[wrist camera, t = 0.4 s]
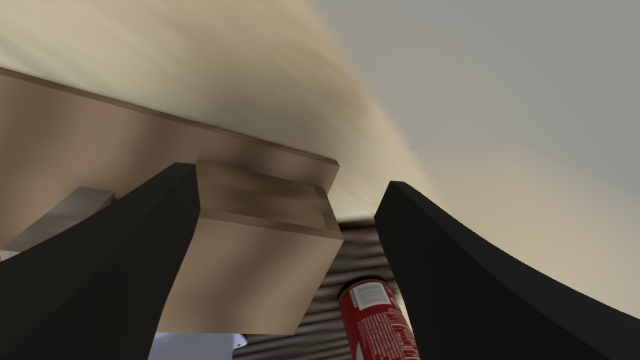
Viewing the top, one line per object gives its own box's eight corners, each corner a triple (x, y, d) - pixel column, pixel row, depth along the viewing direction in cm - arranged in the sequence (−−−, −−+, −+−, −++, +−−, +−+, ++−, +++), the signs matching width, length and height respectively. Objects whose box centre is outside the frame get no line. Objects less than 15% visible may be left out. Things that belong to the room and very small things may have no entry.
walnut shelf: (336, 161, 21) (366, 213, 15) (285, 278, 27) (290, 350, 21) (-188, 15, 12) (-712, -11, 5) (-82, 244, 18) (-269, 353, 12)
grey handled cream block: (282, 202, 21) (287, 255, 16) (264, 252, 23) (263, 312, 18) (78, 161, 16) (-10, 218, 11) (83, 229, 19) (13, 301, 13)
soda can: (344, 274, 29) (386, 405, 18) (394, 273, 30) (458, 392, 20) (331, 310, 32) (361, 438, 22) (378, 307, 33) (426, 425, 23)
